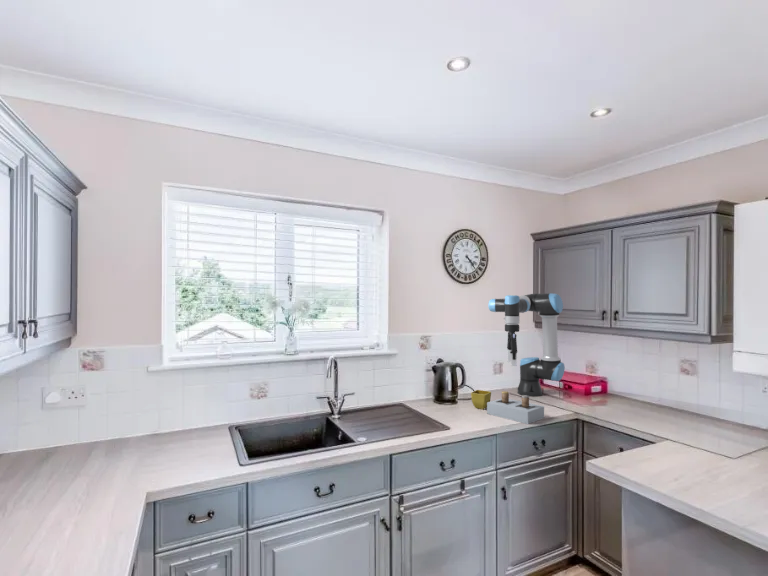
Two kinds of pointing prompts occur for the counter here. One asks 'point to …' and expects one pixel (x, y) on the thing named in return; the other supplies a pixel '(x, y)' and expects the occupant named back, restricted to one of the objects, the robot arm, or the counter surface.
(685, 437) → the counter surface
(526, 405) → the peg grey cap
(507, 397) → the peg brass cap
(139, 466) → the counter surface
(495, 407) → the socket block
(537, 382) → the robot arm
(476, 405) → the flower pot
